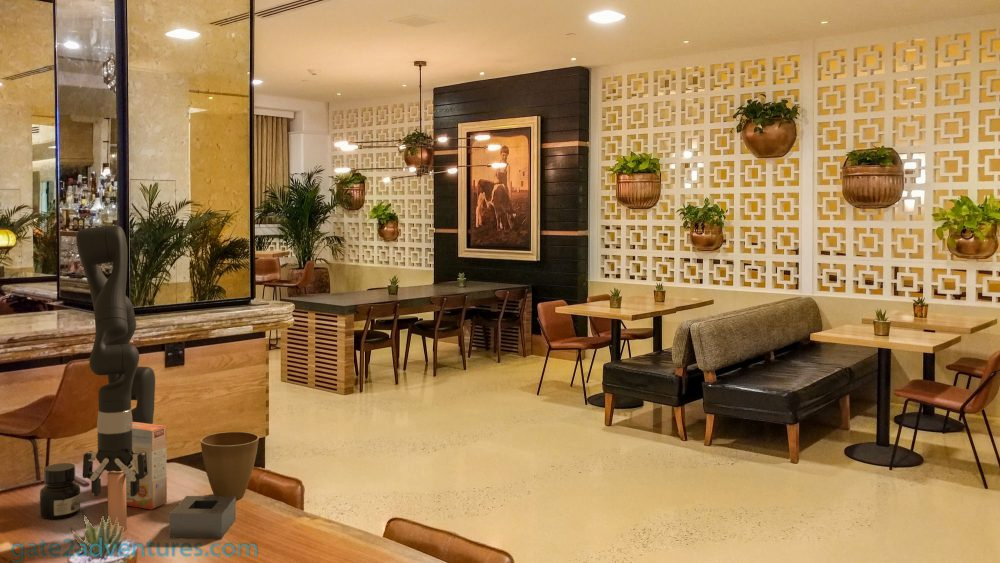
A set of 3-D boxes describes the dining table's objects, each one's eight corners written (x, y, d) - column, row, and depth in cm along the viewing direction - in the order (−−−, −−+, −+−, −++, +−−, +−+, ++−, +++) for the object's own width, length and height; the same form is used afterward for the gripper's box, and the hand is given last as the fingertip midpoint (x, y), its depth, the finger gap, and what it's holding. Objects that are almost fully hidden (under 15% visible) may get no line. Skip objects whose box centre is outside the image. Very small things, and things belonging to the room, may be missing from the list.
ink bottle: (62, 522, 202) (61, 474, 201) (30, 519, 204) (29, 471, 203) (89, 508, 211) (88, 462, 210) (59, 505, 213) (58, 459, 212)
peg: (112, 526, 200) (111, 469, 199) (129, 526, 201) (128, 470, 199) (105, 532, 196) (104, 475, 195) (122, 533, 197) (121, 475, 195)
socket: (186, 519, 206) (186, 495, 206) (235, 519, 207) (235, 496, 206) (169, 538, 194) (169, 513, 194) (221, 538, 195) (221, 513, 194)
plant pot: (257, 504, 218) (257, 444, 217) (197, 507, 214) (197, 447, 213) (259, 485, 232) (259, 429, 231) (203, 488, 229) (203, 431, 227)
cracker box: (168, 503, 217) (167, 424, 215) (151, 511, 211) (150, 430, 209) (125, 496, 221) (124, 419, 220) (107, 503, 216) (106, 424, 214)
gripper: (151, 425, 200) (151, 490, 201) (91, 423, 200) (92, 489, 201) (139, 432, 193) (139, 501, 194) (76, 431, 192) (77, 500, 193)
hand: (115, 495), depth 197 cm, fingers open, 8 cm apart
